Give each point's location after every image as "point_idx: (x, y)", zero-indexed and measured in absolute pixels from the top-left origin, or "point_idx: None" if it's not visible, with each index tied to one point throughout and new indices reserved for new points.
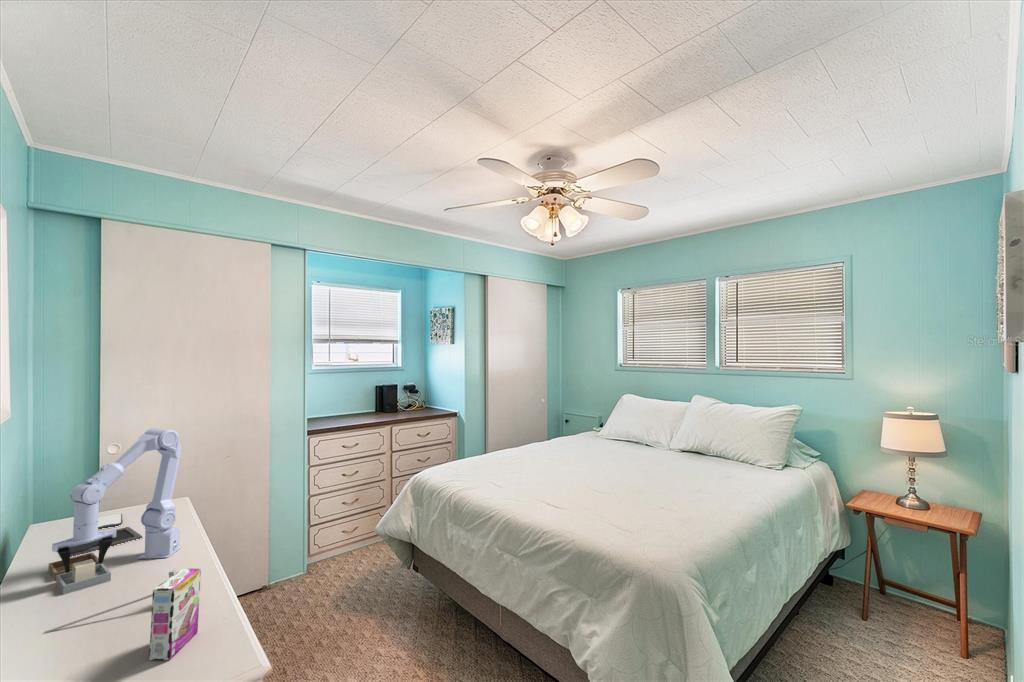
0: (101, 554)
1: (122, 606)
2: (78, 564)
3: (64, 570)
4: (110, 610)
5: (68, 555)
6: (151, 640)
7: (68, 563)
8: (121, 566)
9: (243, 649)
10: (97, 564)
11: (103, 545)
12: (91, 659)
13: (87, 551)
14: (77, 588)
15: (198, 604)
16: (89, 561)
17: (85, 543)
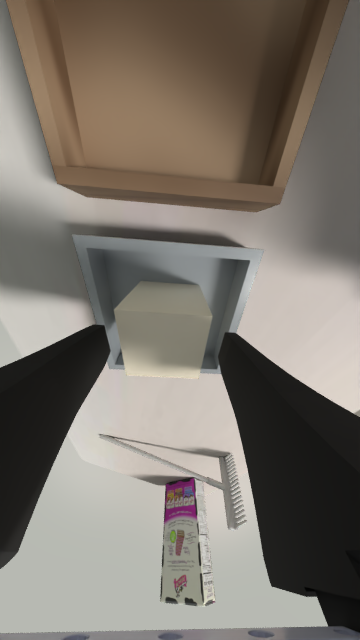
0: (234, 408)
1: (174, 465)
2: (139, 345)
3: (102, 175)
4: (162, 461)
5: (30, 490)
6: (165, 509)
7: (78, 400)
8: (301, 269)
9: (207, 492)
10: (243, 251)
11: (261, 518)
12: (137, 471)
13: None
14: None
15: (206, 523)
16: (188, 346)
17: (124, 636)
